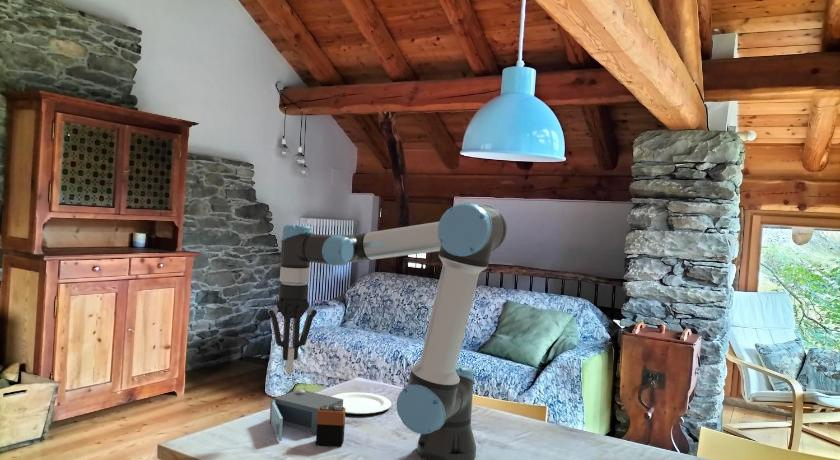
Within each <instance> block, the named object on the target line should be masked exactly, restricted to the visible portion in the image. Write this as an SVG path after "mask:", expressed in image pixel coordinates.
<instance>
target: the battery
mask: <svg viewBox="0 0 840 460" xmlns="http://www.w3.org/2000/svg"><path fill="white" fill-rule="evenodd" d="M345 422H346V413H345V408H344V407H342V405H335V406H334V407H329V406H328V405H322V406H321V407H320V408H319V410H318V413H317V432H316V434H315V435H316V436H315V445H316V446H320V447H336V448H337V447H339V448H341V447H342V446H343V444H344V442H345V441H344V440H345V427H346V426H345V424H346V423H345Z"/></svg>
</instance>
